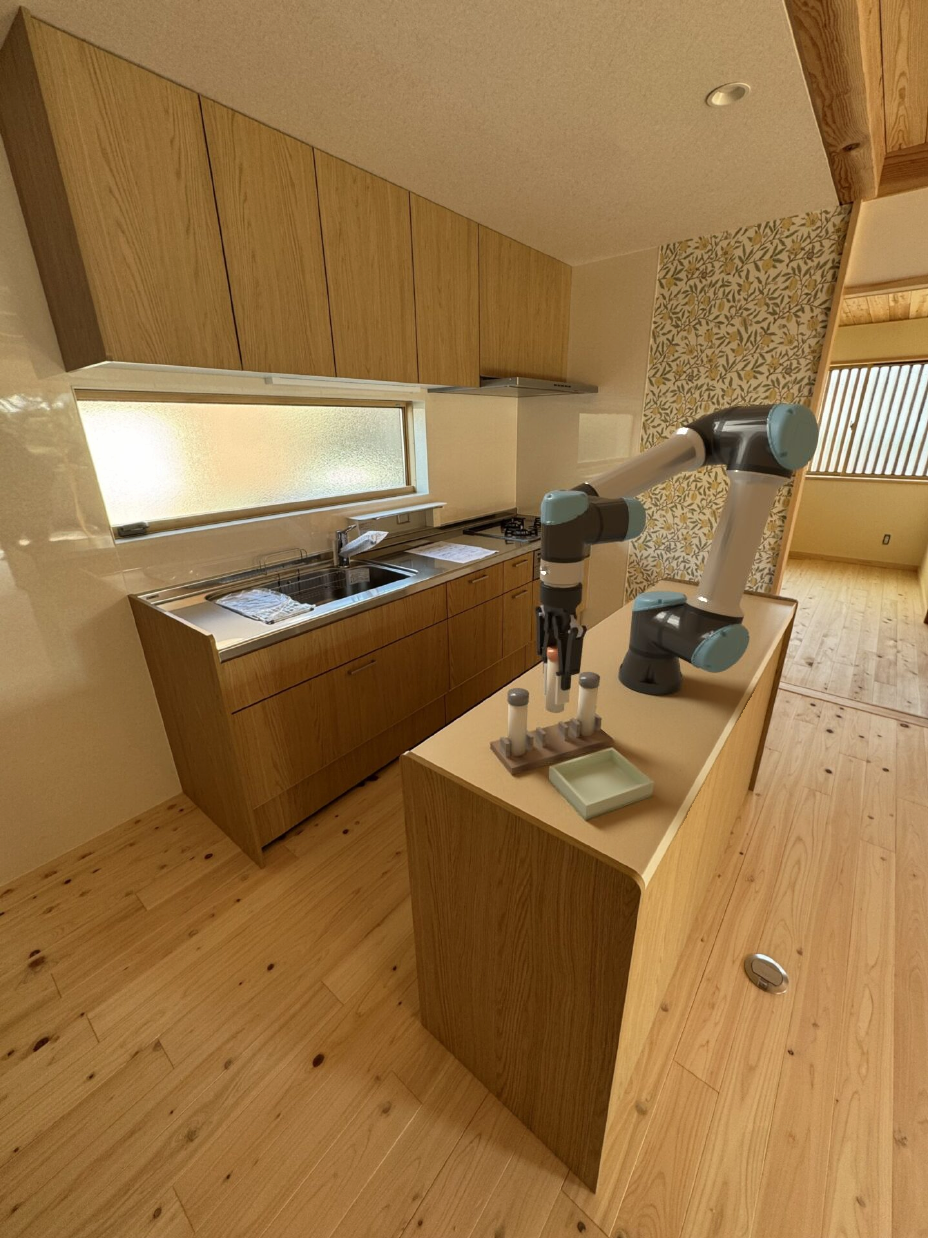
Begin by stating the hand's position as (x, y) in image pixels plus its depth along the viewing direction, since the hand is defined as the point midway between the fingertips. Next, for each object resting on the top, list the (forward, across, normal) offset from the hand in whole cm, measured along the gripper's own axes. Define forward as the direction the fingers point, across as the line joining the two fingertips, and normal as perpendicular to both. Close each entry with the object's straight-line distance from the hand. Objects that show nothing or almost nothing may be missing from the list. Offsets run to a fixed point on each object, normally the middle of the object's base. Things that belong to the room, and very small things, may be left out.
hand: (555, 697), depth 96 cm
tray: (+11, +14, 0) cm, 18 cm away
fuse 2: (+10, 0, +8) cm, 12 cm away
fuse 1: (+10, 0, -8) cm, 13 cm away
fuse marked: (+2, 0, 0) cm, 2 cm away
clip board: (+11, 0, 0) cm, 11 cm away
